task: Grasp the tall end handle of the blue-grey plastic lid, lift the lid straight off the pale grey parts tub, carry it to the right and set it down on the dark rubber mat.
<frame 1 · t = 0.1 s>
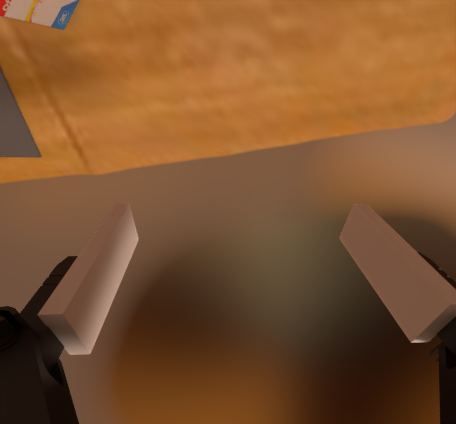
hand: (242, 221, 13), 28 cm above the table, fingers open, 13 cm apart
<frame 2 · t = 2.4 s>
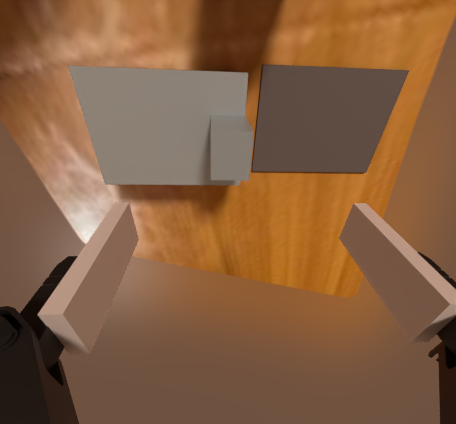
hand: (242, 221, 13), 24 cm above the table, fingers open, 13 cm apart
mat: (321, 125, 34), on the table
lid: (169, 133, 28), point 6 cm above the table, touching tub
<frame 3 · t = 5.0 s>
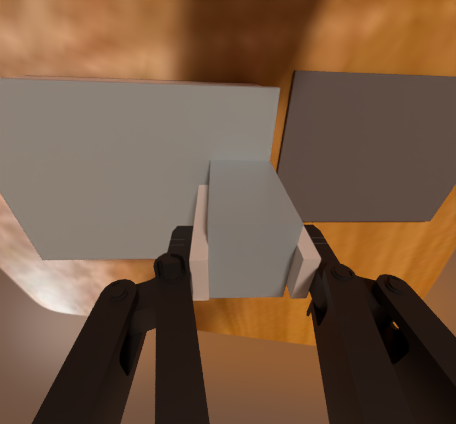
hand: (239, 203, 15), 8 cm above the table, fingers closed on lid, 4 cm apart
tub: (157, 157, 21), on the table
mat: (375, 160, 23), on the table
lid: (139, 186, 17), point 6 cm above the table, touching gripper, tub
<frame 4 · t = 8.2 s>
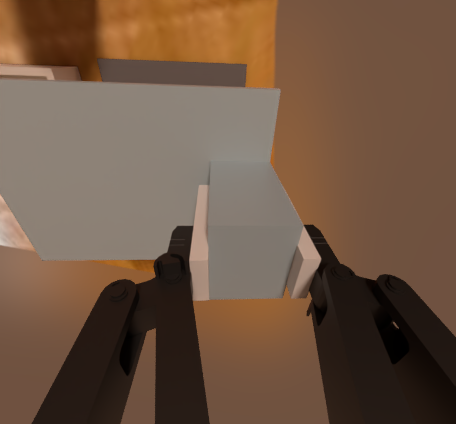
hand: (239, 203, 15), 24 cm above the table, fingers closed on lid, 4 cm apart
tub: (30, 116, 33), on the table
mat: (178, 119, 35), on the table
lid: (139, 187, 17), point 22 cm above the table, touching gripper
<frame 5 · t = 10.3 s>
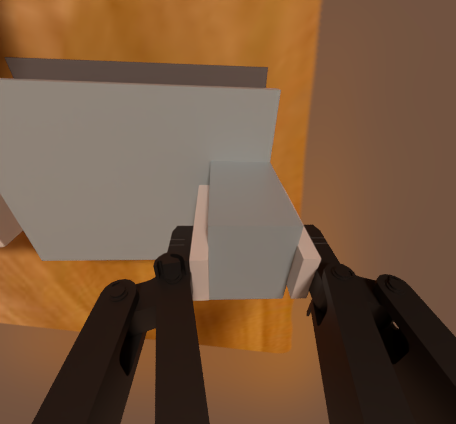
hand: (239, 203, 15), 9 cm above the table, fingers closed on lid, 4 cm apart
mat: (156, 154, 22), on the table
lid: (139, 187, 17), point 7 cm above the table, touching gripper
when the fingers open (5 cm above the table, at t = 11.7 s): lid drops 1 cm, resting on mat.
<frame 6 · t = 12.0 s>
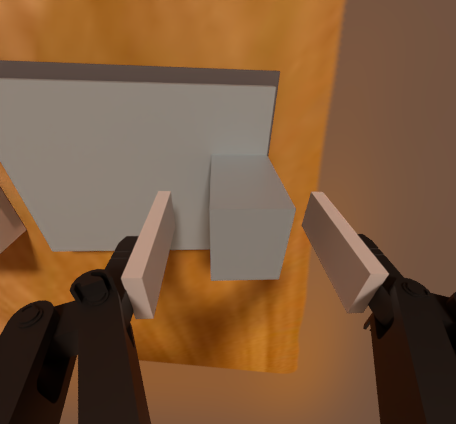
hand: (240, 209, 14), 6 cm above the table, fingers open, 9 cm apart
mat: (149, 170, 19), on the table
lid: (145, 180, 18), point 2 cm above the table, touching mat
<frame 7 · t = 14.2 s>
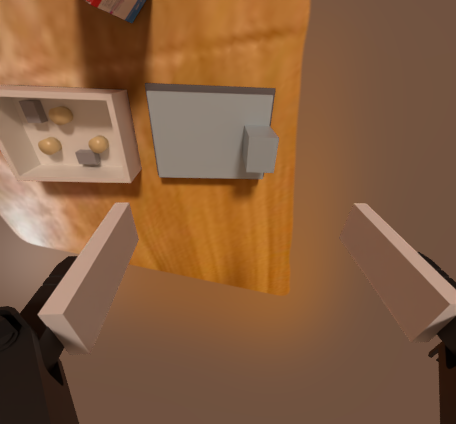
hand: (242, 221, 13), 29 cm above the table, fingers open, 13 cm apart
tub: (80, 131, 37), on the table
mat: (211, 135, 38), on the table
lid: (211, 138, 37), point 2 cm above the table, touching mat
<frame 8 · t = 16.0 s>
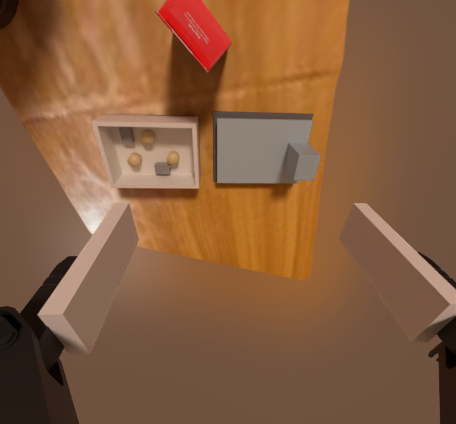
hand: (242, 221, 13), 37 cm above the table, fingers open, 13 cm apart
tub: (157, 147, 47), on the table
ink box: (201, 36, 37), on the table
mat: (259, 149, 49), on the table
lid: (261, 152, 47), point 2 cm above the table, touching mat
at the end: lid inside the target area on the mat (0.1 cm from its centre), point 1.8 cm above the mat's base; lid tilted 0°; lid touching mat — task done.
